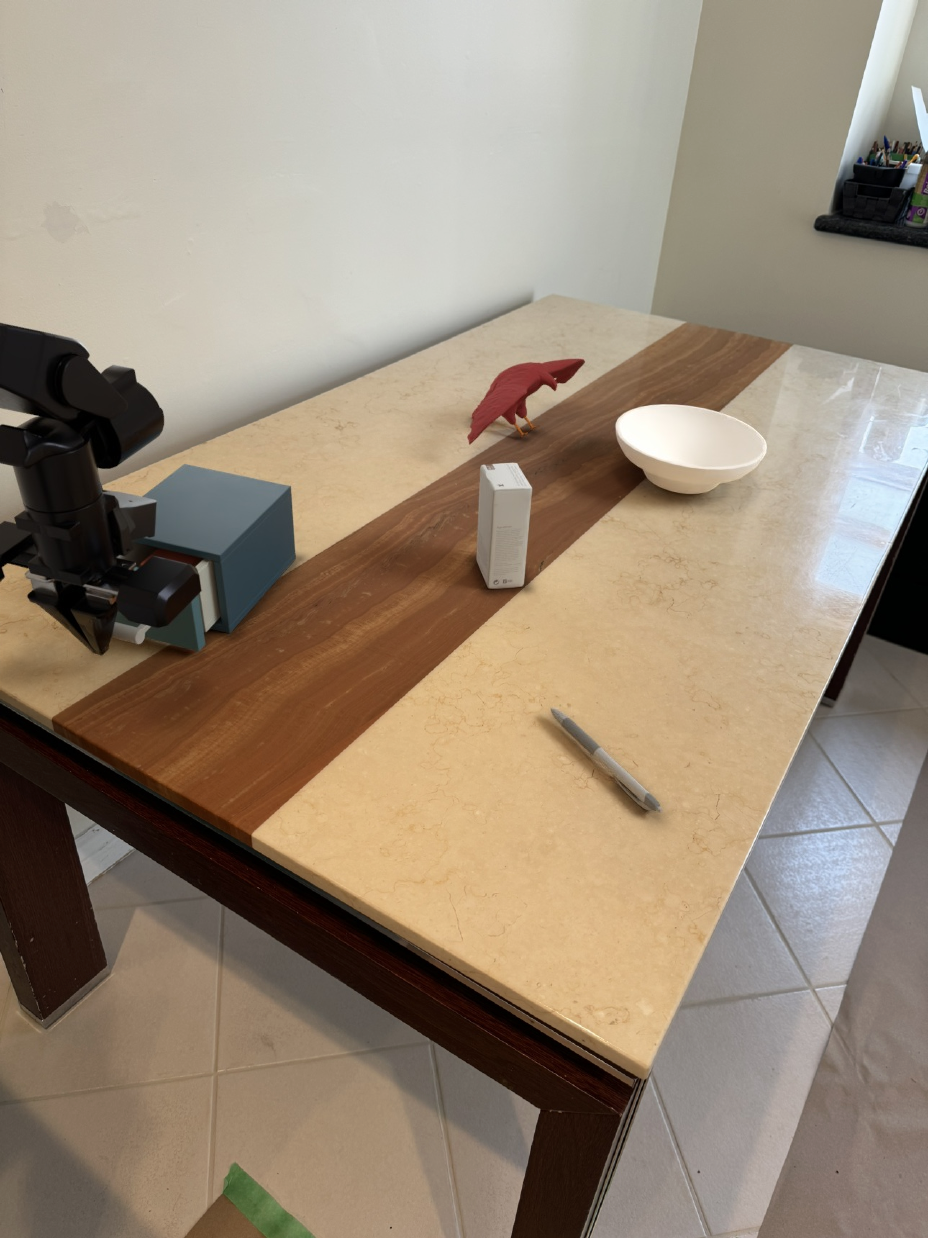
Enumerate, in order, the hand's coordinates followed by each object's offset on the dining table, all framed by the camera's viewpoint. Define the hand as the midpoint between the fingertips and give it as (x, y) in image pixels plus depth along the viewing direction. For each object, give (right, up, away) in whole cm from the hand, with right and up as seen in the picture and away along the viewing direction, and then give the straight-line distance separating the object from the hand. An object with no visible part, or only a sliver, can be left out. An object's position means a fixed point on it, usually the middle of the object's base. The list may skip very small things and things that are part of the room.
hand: (101, 651), depth 76 cm
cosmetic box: (+36, +8, +21) cm, 42 cm away
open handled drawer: (+3, +3, +10) cm, 11 cm away
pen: (+43, -10, -2) cm, 45 cm away
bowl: (+61, +21, +41) cm, 77 cm away
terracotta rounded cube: (+3, +5, +10) cm, 12 cm away
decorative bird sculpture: (+39, +30, +51) cm, 71 cm away
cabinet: (+5, +7, +16) cm, 18 cm away
